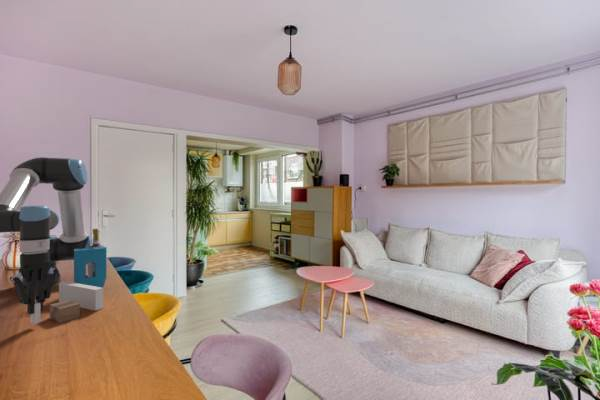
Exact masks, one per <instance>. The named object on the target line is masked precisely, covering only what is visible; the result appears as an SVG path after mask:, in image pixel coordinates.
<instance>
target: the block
mask: <svg viewBox="0 0 600 400" xmlns="http://www.w3.org/2000/svg"><path fill="white" fill-rule="evenodd" d="M90 261H92V262H93V263H95V274H94V275H93V277H88V274H87V266H88V263H89V262H90ZM107 263H108V262H107V246H104V247H94V248H82V249H74V260H73V283H79V284H85V285H90V286H96V287H101V288H103V289H104V287H105V284H106V280H107V268H108V267H107V265H108V264H107Z"/></svg>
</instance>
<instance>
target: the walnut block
mask: <svg viewBox="0 0 600 400" xmlns="http://www.w3.org/2000/svg"><path fill="white" fill-rule="evenodd" d="M80 308H81V307H80V304H79V303H76V302H74V301H71V300H66V301H62V302H59V301H58V302H54V303H51V304H49V318H50V319H51V320H53V321H55V322H57V323H59V324H60V323H65V322H67V321H72V320H75V319H78V318H80V317H81V316H80V314H81V313H80V311H81V310H80Z"/></svg>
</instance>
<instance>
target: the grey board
mask: <svg viewBox="0 0 600 400" xmlns="http://www.w3.org/2000/svg"><path fill="white" fill-rule="evenodd" d="M66 300H71V301H74V302H76V303H79V304H80V308H81V309H86V310H90V311H95V312H96V311H99V310H101V309H104V287H103V288H101V287H96V286H90V285H85V284H79V283H74V281H73V282H72V281H68V280H67V281H62V282H58V302H62V301H66Z"/></svg>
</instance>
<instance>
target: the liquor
mask: <svg viewBox="0 0 600 400" xmlns="http://www.w3.org/2000/svg"><path fill="white" fill-rule="evenodd" d="M92 236H93V237H92V246H90V247H88V248H94V247H105V246H103V244H102V245H101V243H100V241H101V240H100V228H92ZM87 273H88V274H87V275H88V277H93V275H94V274H95V263H93V262H92V261H90V262H89V263H88V264H87Z"/></svg>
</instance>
